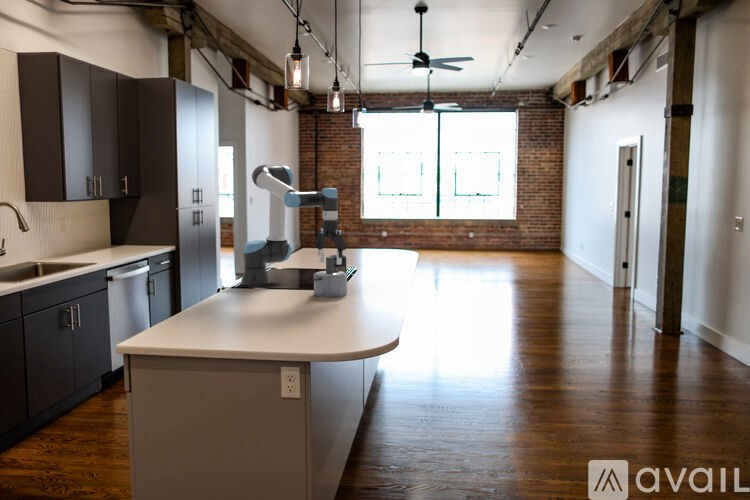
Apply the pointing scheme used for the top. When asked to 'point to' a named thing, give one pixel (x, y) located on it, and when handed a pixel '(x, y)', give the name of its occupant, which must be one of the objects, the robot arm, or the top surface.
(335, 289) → the cooker pot
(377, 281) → the top surface
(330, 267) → the lid
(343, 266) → the canister
